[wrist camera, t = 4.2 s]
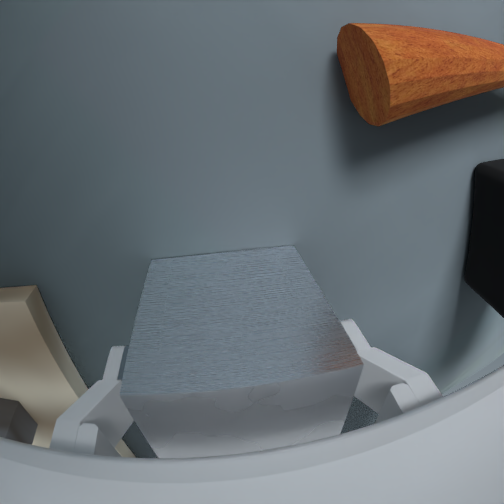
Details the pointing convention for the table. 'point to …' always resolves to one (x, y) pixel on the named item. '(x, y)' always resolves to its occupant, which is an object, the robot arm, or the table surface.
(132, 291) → the table surface
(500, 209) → the battery
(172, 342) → the brushed metal cube
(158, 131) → the table surface
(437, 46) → the kendama
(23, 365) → the holder
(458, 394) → the robot arm
